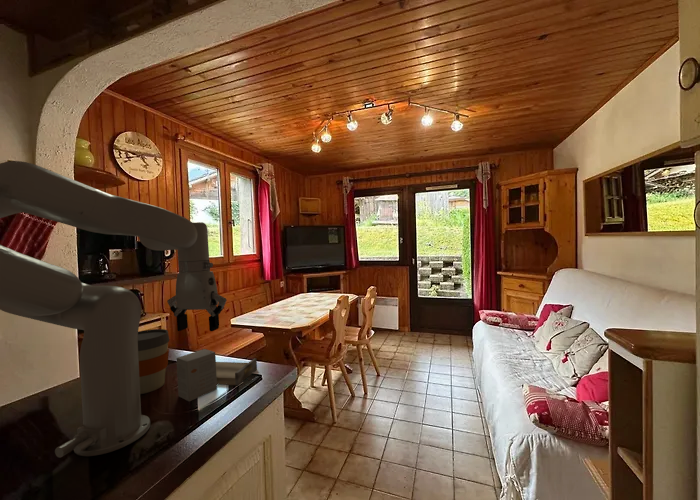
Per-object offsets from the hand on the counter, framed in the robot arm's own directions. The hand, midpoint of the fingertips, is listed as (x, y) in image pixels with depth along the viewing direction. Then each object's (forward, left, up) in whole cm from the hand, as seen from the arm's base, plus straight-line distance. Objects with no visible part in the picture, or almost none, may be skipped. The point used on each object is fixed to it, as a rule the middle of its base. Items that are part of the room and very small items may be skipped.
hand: (198, 329), depth 82 cm
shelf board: (+10, 0, -17) cm, 19 cm away
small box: (-1, 0, -17) cm, 17 cm away
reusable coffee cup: (+1, +18, -17) cm, 25 cm away
